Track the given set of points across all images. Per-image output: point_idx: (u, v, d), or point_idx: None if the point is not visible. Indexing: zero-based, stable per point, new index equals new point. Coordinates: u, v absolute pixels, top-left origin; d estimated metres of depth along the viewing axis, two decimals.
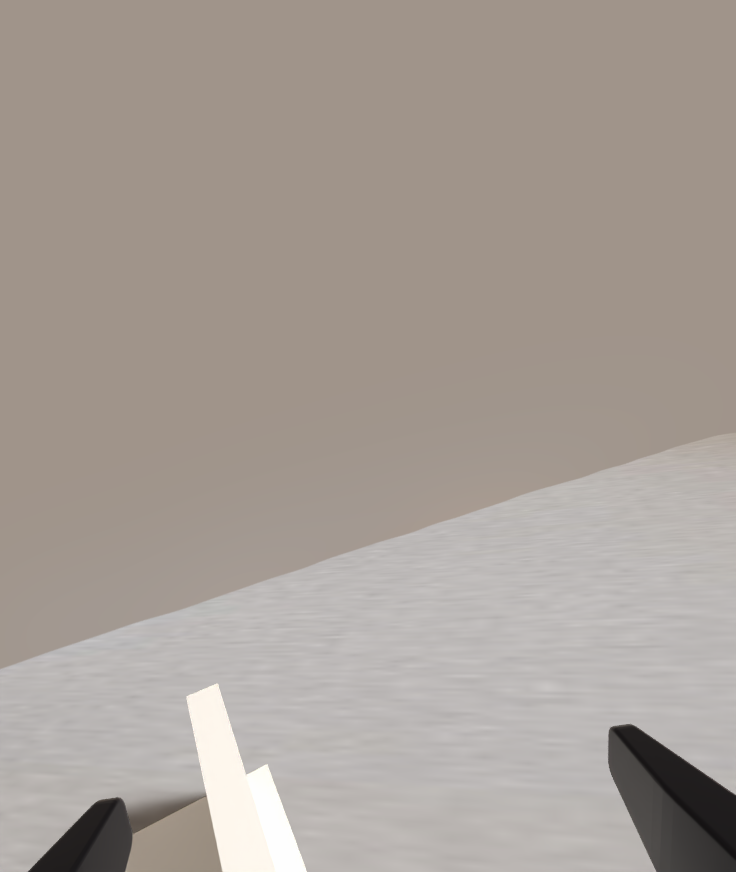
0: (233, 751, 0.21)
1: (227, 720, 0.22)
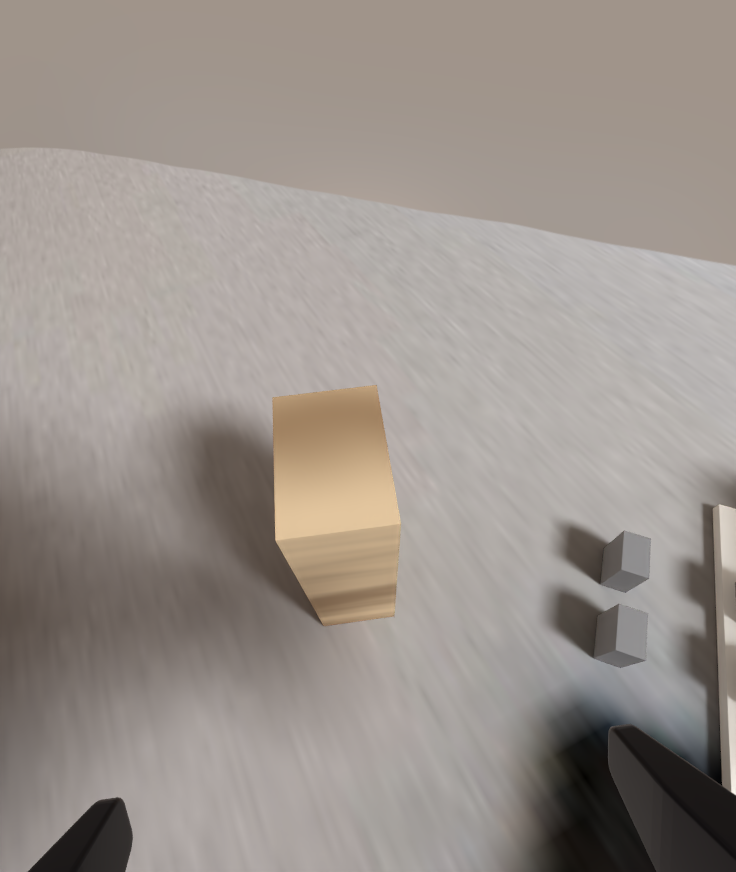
0: None
1: None
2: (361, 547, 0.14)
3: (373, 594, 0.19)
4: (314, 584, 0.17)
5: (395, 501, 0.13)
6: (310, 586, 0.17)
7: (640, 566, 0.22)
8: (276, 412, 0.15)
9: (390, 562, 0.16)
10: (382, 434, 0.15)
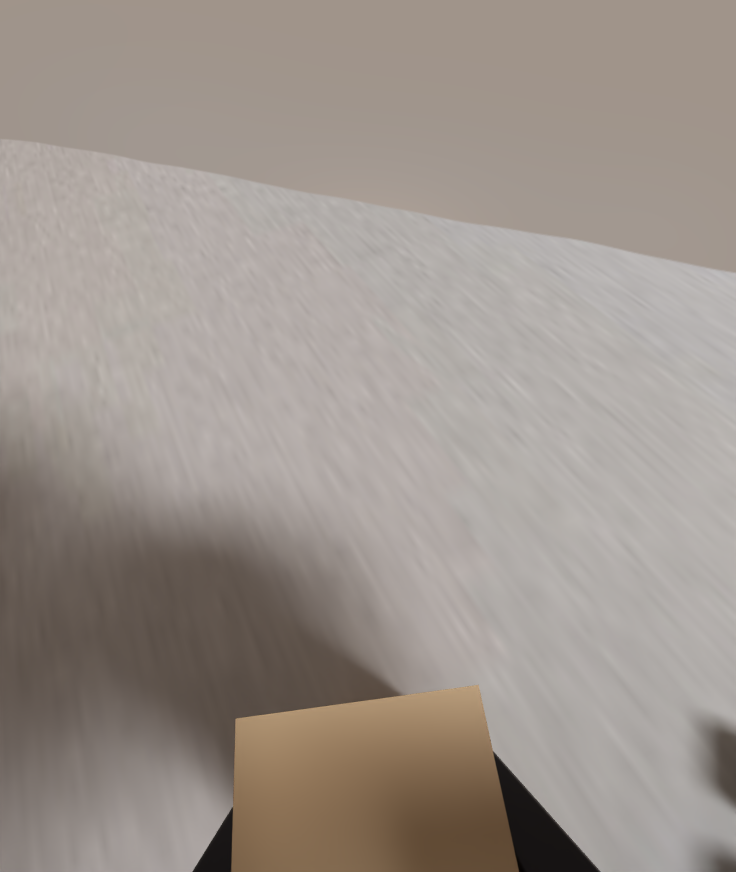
0: None
1: None
2: None
3: None
4: None
5: None
6: None
7: None
8: (242, 772, 0.06)
9: None
10: (511, 870, 0.06)
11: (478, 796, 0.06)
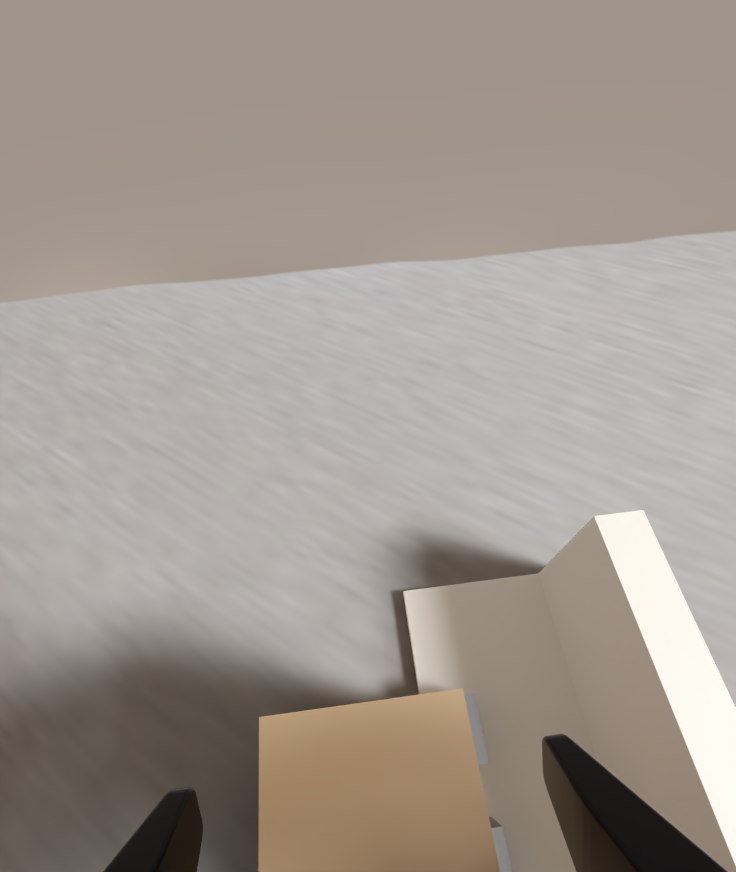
0: (714, 679, 0.12)
1: (684, 602, 0.13)
2: None
3: None
4: None
5: None
6: None
7: None
8: (266, 761, 0.08)
9: None
10: (487, 840, 0.07)
11: (461, 780, 0.07)
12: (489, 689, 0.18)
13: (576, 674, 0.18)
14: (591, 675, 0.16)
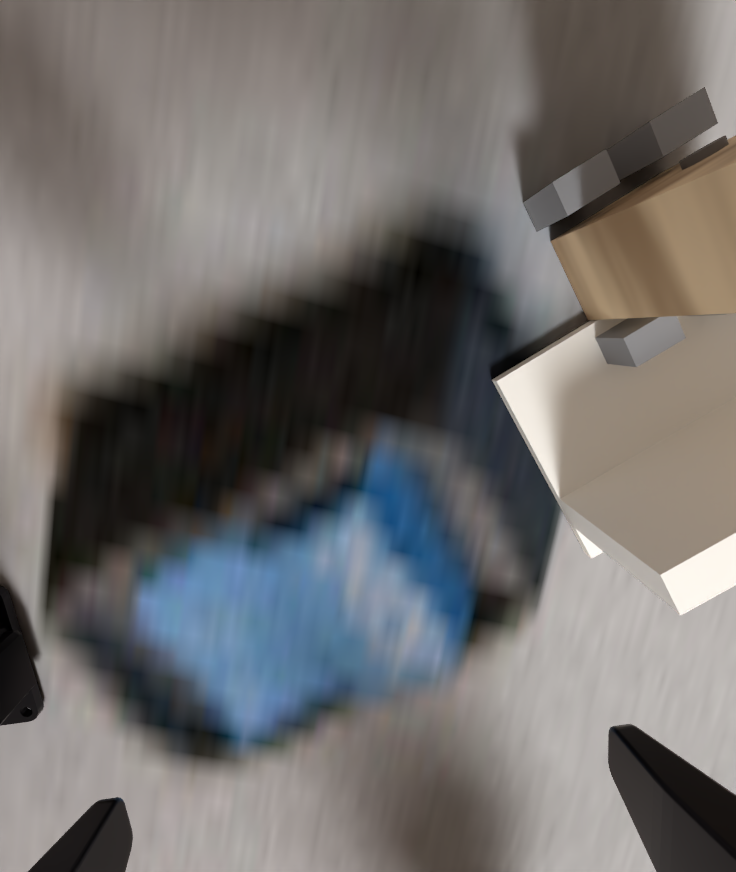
0: None
1: None
2: None
3: (656, 289, 0.14)
4: (694, 201, 0.11)
5: None
6: (686, 197, 0.11)
7: (670, 137, 0.15)
8: None
9: None
10: None
11: None
12: None
13: None
14: None
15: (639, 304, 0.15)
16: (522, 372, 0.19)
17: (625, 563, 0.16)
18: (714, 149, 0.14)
